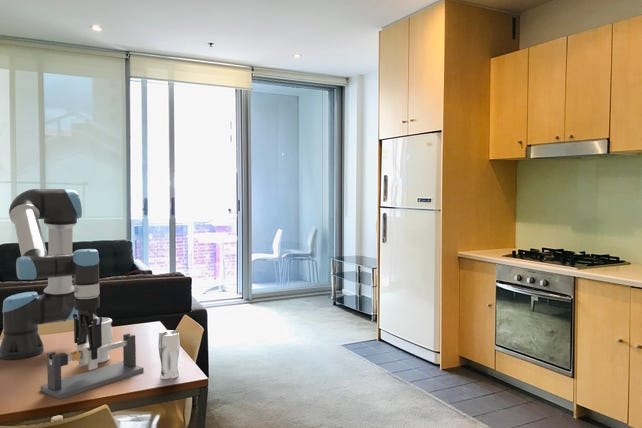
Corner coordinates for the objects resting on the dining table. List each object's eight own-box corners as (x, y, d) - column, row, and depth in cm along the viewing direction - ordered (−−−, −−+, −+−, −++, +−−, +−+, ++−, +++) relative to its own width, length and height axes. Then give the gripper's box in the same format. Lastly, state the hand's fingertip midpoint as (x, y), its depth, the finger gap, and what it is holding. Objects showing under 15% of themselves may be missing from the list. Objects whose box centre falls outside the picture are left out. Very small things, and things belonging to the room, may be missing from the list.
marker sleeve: (76, 360, 162) (76, 345, 162) (91, 356, 166) (91, 341, 166) (84, 363, 159) (84, 348, 159) (99, 359, 163) (99, 344, 163)
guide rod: (48, 366, 154) (48, 356, 153) (129, 344, 176) (129, 335, 176) (53, 368, 152) (53, 358, 152) (134, 346, 174) (134, 337, 174)
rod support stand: (40, 390, 156) (39, 351, 156) (123, 365, 179) (123, 331, 179) (59, 399, 149) (58, 358, 149) (143, 371, 172) (143, 336, 172)
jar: (101, 365, 179) (100, 324, 178) (75, 364, 181) (75, 323, 180) (118, 356, 189) (118, 317, 189) (94, 355, 191) (94, 316, 191)
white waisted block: (167, 371, 173) (167, 329, 172) (184, 374, 170) (183, 331, 170) (154, 378, 166) (153, 334, 166) (171, 381, 164) (170, 336, 163)
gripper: (61, 295, 164) (62, 364, 165) (91, 301, 153) (92, 376, 154) (83, 291, 170) (84, 358, 171) (113, 298, 159) (114, 369, 160)
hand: (88, 366), depth 162 cm, fingers closed on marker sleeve, 5 cm apart
